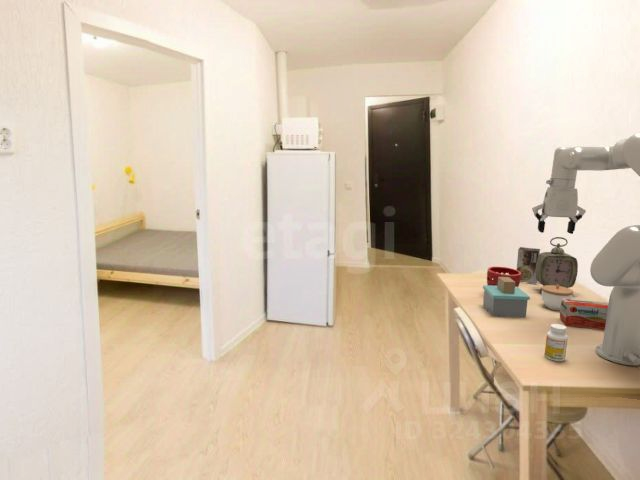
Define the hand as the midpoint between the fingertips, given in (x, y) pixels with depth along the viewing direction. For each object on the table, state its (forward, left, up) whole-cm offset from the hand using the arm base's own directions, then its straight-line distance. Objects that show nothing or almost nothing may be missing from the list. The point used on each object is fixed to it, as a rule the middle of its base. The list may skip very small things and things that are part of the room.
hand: (555, 232), depth 150 cm
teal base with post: (+6, +13, -26) cm, 30 cm away
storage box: (+6, +13, -32) cm, 35 cm away
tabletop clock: (+34, -17, -32) cm, 50 cm away
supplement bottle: (-33, +11, -32) cm, 47 cm away
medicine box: (-4, -12, -33) cm, 35 cm away
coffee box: (+51, -12, -32) cm, 62 cm away
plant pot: (+24, +8, -32) cm, 41 cm away
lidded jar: (+13, -9, -32) cm, 36 cm away
